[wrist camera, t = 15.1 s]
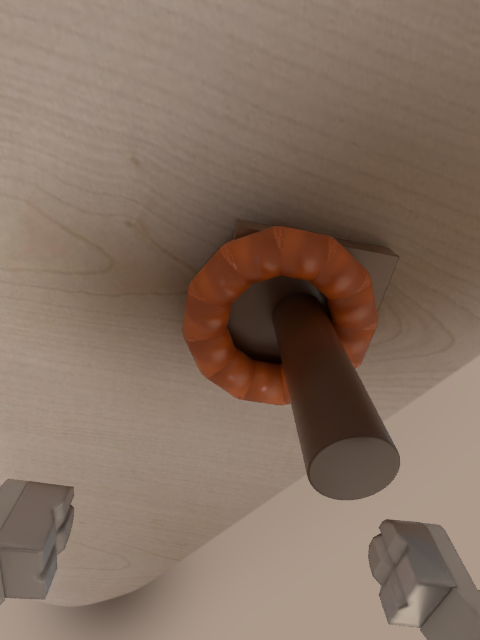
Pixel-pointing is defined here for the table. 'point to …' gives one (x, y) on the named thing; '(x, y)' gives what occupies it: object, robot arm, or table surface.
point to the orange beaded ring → (259, 265)
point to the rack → (320, 374)
